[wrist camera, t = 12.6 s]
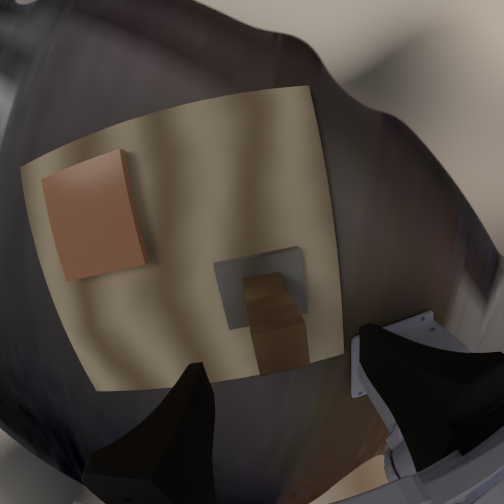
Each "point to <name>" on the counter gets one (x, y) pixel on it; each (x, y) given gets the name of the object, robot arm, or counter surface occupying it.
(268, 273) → the wooden post on base
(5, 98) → the counter surface
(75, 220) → the tile
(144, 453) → the robot arm
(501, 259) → the counter surface
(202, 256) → the board
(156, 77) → the counter surface
